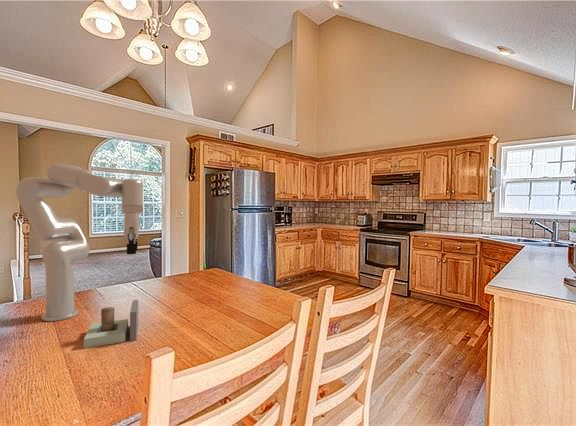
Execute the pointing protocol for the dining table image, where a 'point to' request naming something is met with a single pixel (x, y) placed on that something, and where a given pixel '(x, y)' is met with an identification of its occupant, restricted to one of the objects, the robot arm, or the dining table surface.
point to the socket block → (106, 334)
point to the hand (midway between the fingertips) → (132, 252)
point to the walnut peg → (107, 319)
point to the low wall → (134, 320)
